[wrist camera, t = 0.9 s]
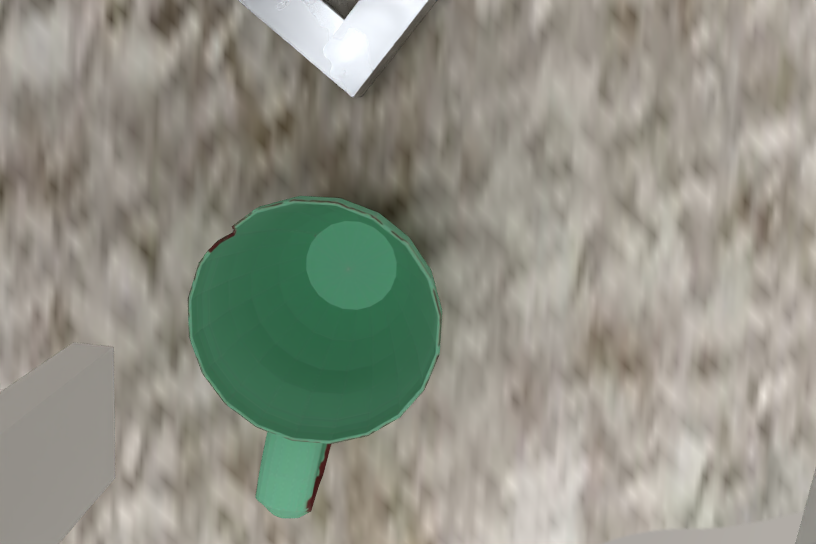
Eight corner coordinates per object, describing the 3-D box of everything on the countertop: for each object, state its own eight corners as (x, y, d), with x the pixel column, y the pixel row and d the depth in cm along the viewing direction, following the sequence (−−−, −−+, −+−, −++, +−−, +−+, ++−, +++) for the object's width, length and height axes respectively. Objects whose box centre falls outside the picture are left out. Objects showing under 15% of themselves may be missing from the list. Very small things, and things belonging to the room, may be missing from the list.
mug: (273, 150, 36) (203, 173, 26) (466, 191, 35) (468, 230, 26) (233, 413, 39) (158, 519, 30) (407, 452, 39) (389, 571, 30)
